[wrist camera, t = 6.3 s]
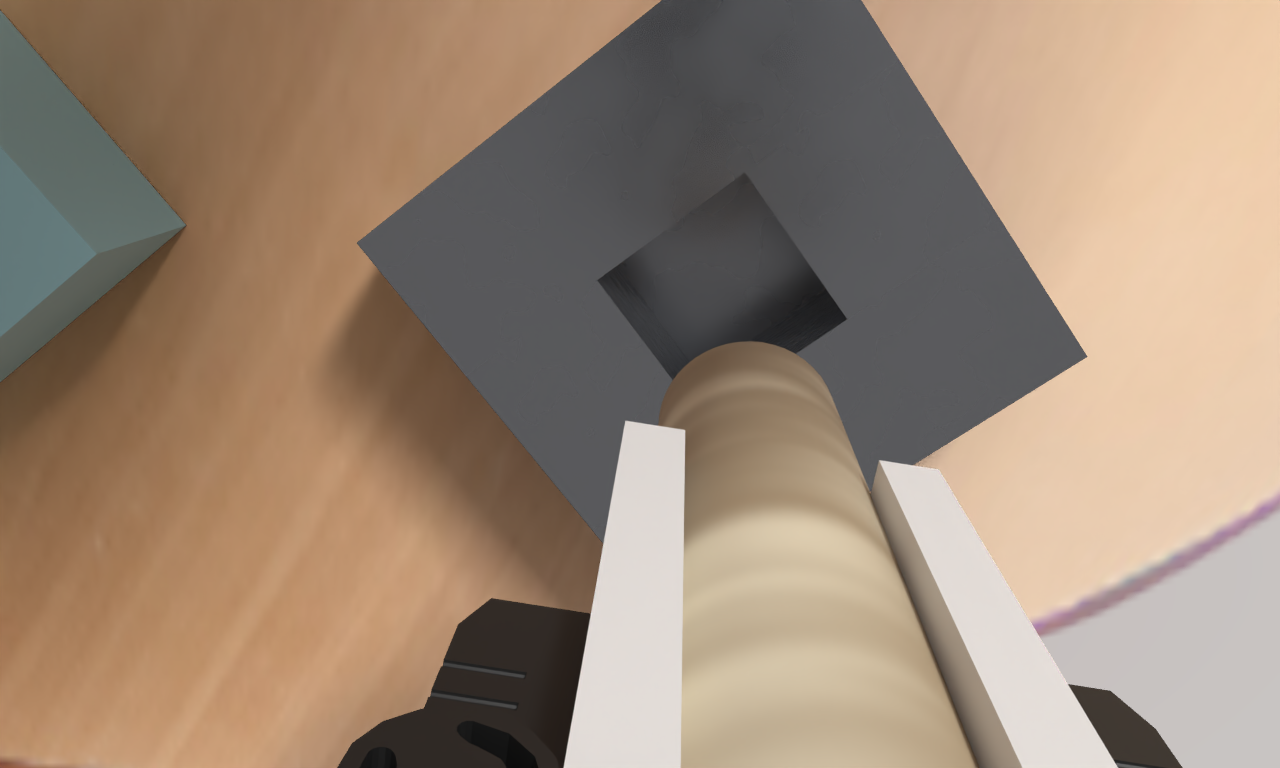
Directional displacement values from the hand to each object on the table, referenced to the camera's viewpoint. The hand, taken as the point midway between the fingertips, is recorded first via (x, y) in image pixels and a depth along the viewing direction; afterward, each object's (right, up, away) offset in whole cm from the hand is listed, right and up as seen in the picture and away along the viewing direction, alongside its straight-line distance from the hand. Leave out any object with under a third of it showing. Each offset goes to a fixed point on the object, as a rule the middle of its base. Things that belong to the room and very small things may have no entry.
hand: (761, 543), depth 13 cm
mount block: (+1, +6, +18) cm, 19 cm away
